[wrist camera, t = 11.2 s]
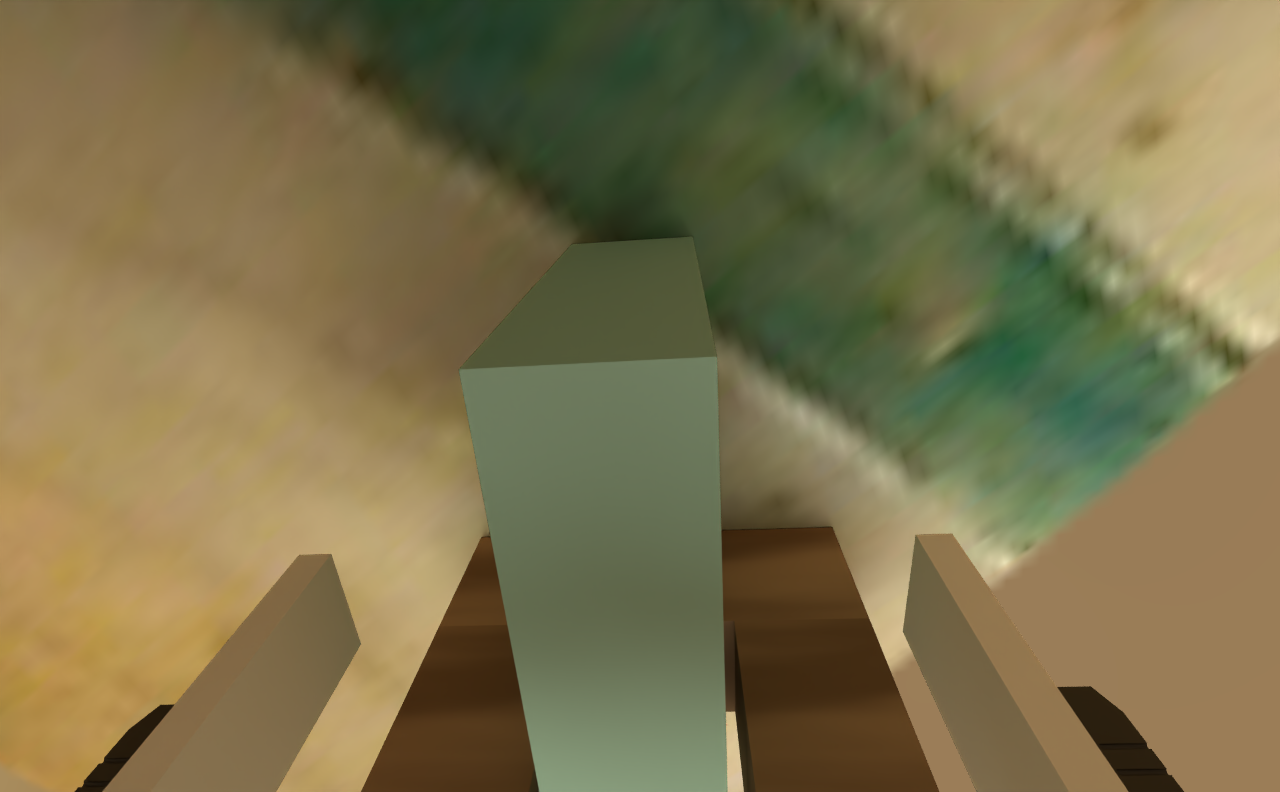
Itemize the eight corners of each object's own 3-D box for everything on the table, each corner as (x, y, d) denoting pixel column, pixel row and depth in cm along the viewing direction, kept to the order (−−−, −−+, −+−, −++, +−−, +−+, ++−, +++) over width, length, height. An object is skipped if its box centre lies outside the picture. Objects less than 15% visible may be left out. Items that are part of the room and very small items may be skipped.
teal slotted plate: (571, 244, 21) (458, 369, 10) (692, 236, 21) (716, 356, 9) (616, 658, 28) (580, 1006, 17) (708, 656, 27) (732, 1010, 16)
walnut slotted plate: (481, 537, 26) (335, 845, 14) (832, 527, 25) (962, 849, 14) (496, 615, 27) (374, 947, 16) (827, 608, 26) (941, 958, 15)
